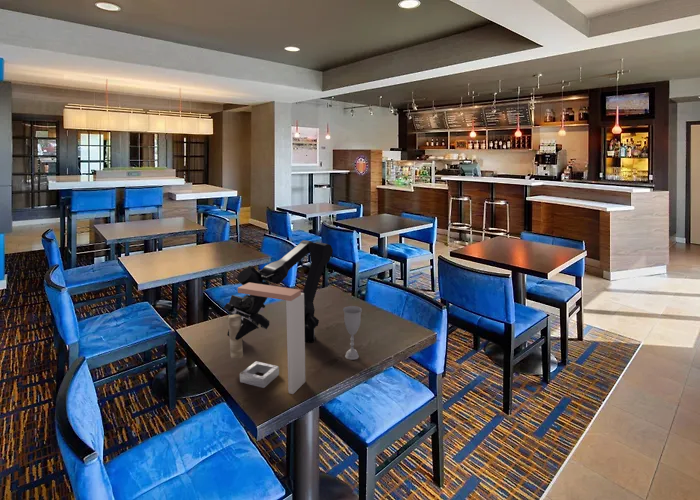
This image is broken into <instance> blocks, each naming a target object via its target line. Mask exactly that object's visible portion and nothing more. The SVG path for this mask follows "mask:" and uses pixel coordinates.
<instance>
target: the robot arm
mask: <svg viewBox="0 0 700 500" xmlns="http://www.w3.org/2000/svg"><path fill="white" fill-rule="evenodd" d="M333 252H334V249H333V247H332V245H331V244H328V243H324V242H319V241H316V242H313V241H311V240H306V239H303V240H301V241H300V242H299V244H298V245H296V246H295V247H294V248H293V249H291V250H289V252H287V253H286V254H285V255H284V256H283V257H282V258H280V259H279V260H276V261H272V262H270V263H268V264H267V265H265V266H264V267H263V268H262V269H260V270H257V269H256V268H255V267H254V266H252V265H248V267H247V268H244V269H242V270H241V271H240V272H239V273H238V275H237V276H236V277H237V278H236V280H237V282H238V283H239V284H241V286H243V285H245V284H247V283H249V282H250V283H256V284H263V285H270V286H275V285H279V284H281V283H282V282H283V281H284V280H285V278H286V277H287V276H288V272H289V271H290V269H292V268H293V267H294V266H295V265H296V264H298V263H299V262H300V261H301V260H302V259H304V258H305V257H306V256H307V255H308V254H309V258H310V259H309V260H310V267H309V270H308V272H307V273H308V274H307V276H306V280H305V283H304V285H303V286H304V287H303V291H302V293H304V321H305V343H315V339H316V333H315V331H316V330H315V329H316V328H317V327H318V326H319V323H320V320H319V319H318V318H317V317H316V316H315V306H314V300H315V297H316V293H317V290H318V287H319V283H320V280H321V276H322V273H323V270H324V267H325V266H326V265H327V264H328V263H329V262H330V260H331V257H332V255H333ZM273 284H274V285H273ZM267 299H269V298H268V297H262V296H255V295H249V294H245V295H244V296H243V297H242V296H238V295H235V294H234V295H232V294H231V297H230V300H229V302H227V303H226V304H225V305H224V307H223V310H225V311H227V312H228V314H229V316H230V315H234V314H238V315H241V318H242V317H245V318H243V320H242V319H241V325H242V324H243V325H242V326H241V328H240V330H239V332H238V333H237V335H236V337H235V339H236V340H239V339H240V338H242V339H243V337H245V336H246V335H248V334H249V333H252V332H253V331H255V330H256V329H258V330H259V326H260V328H262V329H265V330H266V331H267V330H268V328H269V326H270V320H269V319H267V318H266V317H265V316H264V315H262V314H260V313H259V312H260V311H261V309H265V307H266V305H265V303H266V301H267ZM226 336H228V337H229V329H228V331H227V335H226Z"/></svg>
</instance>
